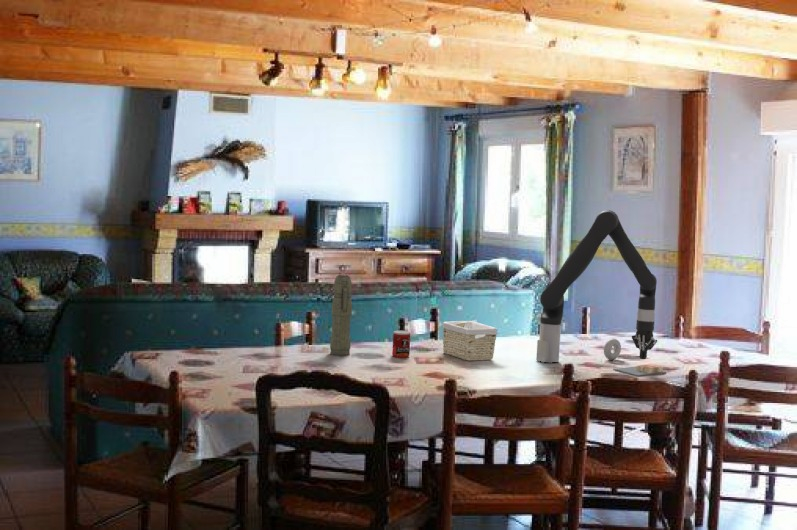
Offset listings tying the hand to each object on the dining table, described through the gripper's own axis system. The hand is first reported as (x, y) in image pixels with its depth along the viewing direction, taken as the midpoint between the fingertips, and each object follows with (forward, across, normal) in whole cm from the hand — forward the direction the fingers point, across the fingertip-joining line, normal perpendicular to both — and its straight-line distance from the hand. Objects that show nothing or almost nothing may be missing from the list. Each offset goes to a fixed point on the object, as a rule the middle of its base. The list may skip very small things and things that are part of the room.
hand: (642, 358), depth 430 cm
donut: (+6, -25, +8) cm, 27 cm away
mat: (+6, 0, -1) cm, 6 cm away
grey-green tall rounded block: (+5, -82, -104) cm, 132 cm away
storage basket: (+6, -57, -52) cm, 77 cm away
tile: (+4, -1, +2) cm, 4 cm away
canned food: (+6, -68, -81) cm, 106 cm away
